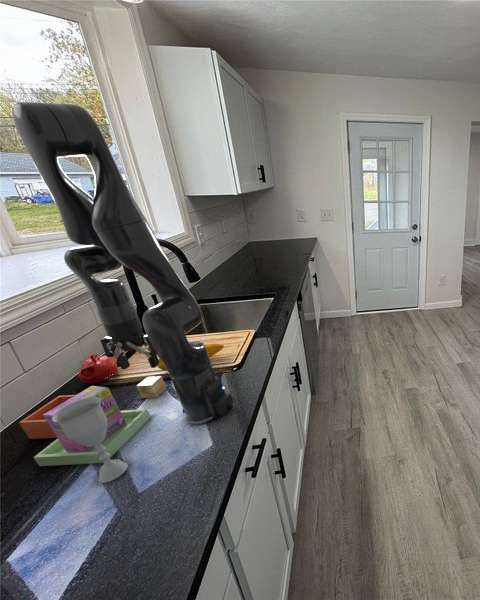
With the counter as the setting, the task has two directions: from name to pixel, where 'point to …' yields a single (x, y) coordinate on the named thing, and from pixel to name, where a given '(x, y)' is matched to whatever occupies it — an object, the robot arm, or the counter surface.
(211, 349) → the corn
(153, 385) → the block
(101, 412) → the chalice
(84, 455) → the tray
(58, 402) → the bin
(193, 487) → the counter surface
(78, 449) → the box
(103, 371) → the pomegranate
